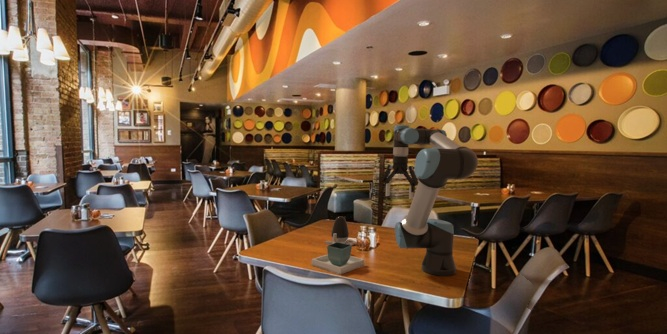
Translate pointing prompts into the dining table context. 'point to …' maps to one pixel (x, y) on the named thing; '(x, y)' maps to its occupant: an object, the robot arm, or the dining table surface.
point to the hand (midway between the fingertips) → (399, 197)
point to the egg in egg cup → (340, 229)
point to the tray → (325, 264)
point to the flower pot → (339, 253)
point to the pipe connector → (333, 240)
